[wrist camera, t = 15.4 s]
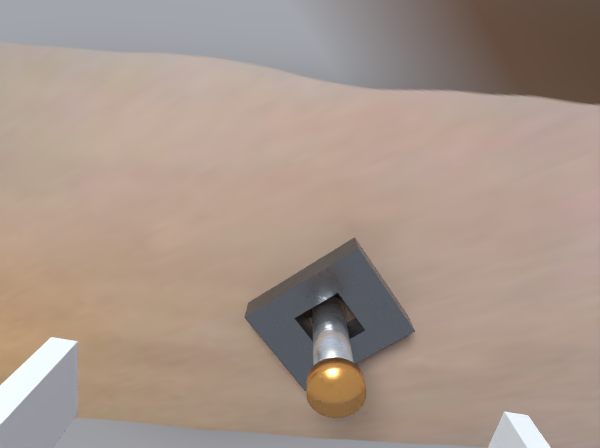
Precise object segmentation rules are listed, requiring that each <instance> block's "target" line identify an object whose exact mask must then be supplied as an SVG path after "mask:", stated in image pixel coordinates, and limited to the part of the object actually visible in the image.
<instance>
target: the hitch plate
mask: <svg viewBox="0 0 600 448" xmlns="http://www.w3.org/2000/svg"><path fill="white" fill-rule="evenodd" d="M336 293H339V295H340V296H341V298H342V299H343V300H344V302H345V303H346V304H347V306H348V307H349V309H350V310H351V311H352V313H353V314H354V315H355V317H356V319H354V320H352V321H350V322H349V323H347V327H348V333H349V339H350V345H351V351H352V356H353V362H354V363H355V364H356V363H358V362H359V361H361V360H363V359H365V358H367V357H369V356H370V355H372V354H374V353H376V352H378V351H380V350H381V349H383V348H385V347H387V346H389V345H391V344H393V343H394V342H396V341H398V340H400V339H402V338H404V337H405V336H407V335H409V334H411V333H413V332H415V330H414V328H413V326H412V324H411V322H410V319H409V317H408V315H407V314H406V312H405V311H404V309H403V308H402V307H401V305H400V304H399V302H398V301H397V299H396V298H395V296H394V295H393V293H392V292H391V290H390V289H389V287H388V286H387V284H386V283H385V281H384V280H383V279H382V277H381V276H380V274H379V273H378V271H377V270H376V268H375V267H374V265H373V264H372V262H371V261H370V259H369V258H368V256H367V255H366V253H365V252H364V251H363V249H362V248H361V246H360V245H359V243H358V242H357V240H356V239H355V238H353V239H352V240H350V241H348V242H347V243H345V244H343V245H342V246H340V247H339V248H337V249H335V250H334V251H332V252H330V253H329V254H327V255H326V256H324V257H322V258H321V259H319V260H317V261H316V262H314V263H313V264H311V265H309V266H308V267H306V268H304V269H303V270H301V271H300V272H298V273H296V274H295V275H293V276H291V277H290V278H288V279H287V280H285V281H283V282H282V283H280V284H278V285H277V286H275V287H274V288H272V289H270V290H269V291H267V292H265V293H264V294H262V295H261V296H259V297H257V298H256V299H254V300H252V301H251V302H249V303H248V307H247V310H246V314H245V319H246V320H247V321H248V322H249V323H250V325H251V326H252V327H253V328H254V329H255V331H256V332H257V333H258V334H259V336H260V337H261V338H262V339H263V340H264V342H265V343H266V344H267V345H268V346H269V348H270V349H271V350H272V351H273V352H274V354H275V355H276V356H277V357H278V358H279V360H280V361H281V362H282V363H283V365H284V366H285V367H286V368H287V369H288V371H289V372H290V373H291V374H292V375H293V377H294V378H295V379H296V380H297V381H298V383H299V384H300V385H301V386H302V387H303V389H304V390H305V391H306V390H307V376H308V373H309V371H310V369H311V368H312V367H313V326H312V325H311V324H310V322H309V321H308V320H307V318H306V317H305V316H304V314H303V313H304V312H306V311H308V310H309V309H311V308H313V307H314V306H316V305H318V304H320V303H321V302H323V301H325V300H326V299H328V298H330V297H331V296H333V295H335V294H336Z"/></svg>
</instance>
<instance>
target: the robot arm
mask: <svg viewBox="0 0 600 448" xmlns="http://www.w3.org/2000/svg"><path fill="white" fill-rule="evenodd" d="M77 361H78V341H72V340H65V339H59V338H53V337H51V338H50V339H49V340H48V341H47V342H46V343H45V344H44V345H43V346H41V347H40V348H39V349H38V350H37V351H36V352H35V353H34V354H33V355H32V356H31V357H30V358H29V359H28V360H27V361H26V362H25V363H24V364H22V365H21V366H20V367H19V368H18V369H17V370H16V371H15V372H14V373H13V374H12V375H11V376H10V377H9V378H8V379H7V380H6V381H5V382H3V383H2V384H1V385H0V448H53V447H54V446H55V444H56V443H57V442H58V440H59V439H60V438H61V436H62V435H63V433H64V432H65V431H66V429H67V428H68V426H69V425H70V424H71V422H72V421H73V419H74V418H75V417H76V415H77ZM488 448H550V446H549V445H548V444H547V442H546V441H545V439H544V438H543V436H542V435H541V433H540V432H539V431H538V429H537V428H536V426H535V425H534V423H533V422H532V421H531V419H530V418H529V416H528V415H522V414H516V413H510V412H504V413H503V416H502V418H501V420H500V422H499V424H498V427H497V429H496V431H495V433H494V436H493V438H492V440H491V442H490V444H489V447H488Z"/></svg>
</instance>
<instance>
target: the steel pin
mask: <svg viewBox="0 0 600 448" xmlns="http://www.w3.org/2000/svg"><path fill="white" fill-rule="evenodd" d="M312 325H313V367H312V368H311V369H310V371H309V373H308V376H307V400H308V402H309V404H310V406H311V407H312V408H313V409H314V410H315V411H316V412H318V413H319V414H321V415H324V416H327V417H332V418H340V417H345V416H349V415H351V414H353V413H355V412H356V411H357V410H359V409H360V408H361V406H362V405H363V403H364V401H365V399H366V388H365V383H364V378H363V374H362V372H361V370H360V368H359V367H358V366H357V365H356V364H355V363H354V362H353V356H352V351H351V345H350V339H349V333H348V327H347V322H346V316H345V310H344V305H343V303H342V301H341V300H340V299H339V298H337V297H336V296H331V297H330V298H328V299H326V300H325V301H323V302H321V303H320V304H318V305H316V306H314V307H313V308H312Z"/></svg>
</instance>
